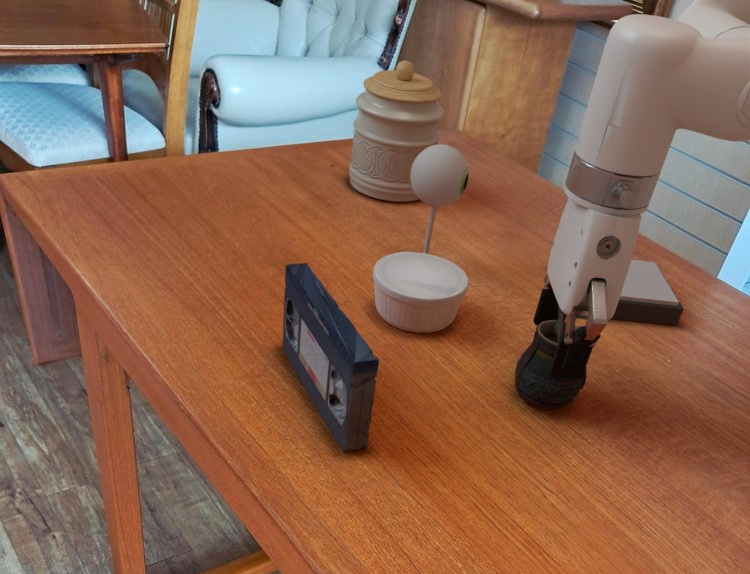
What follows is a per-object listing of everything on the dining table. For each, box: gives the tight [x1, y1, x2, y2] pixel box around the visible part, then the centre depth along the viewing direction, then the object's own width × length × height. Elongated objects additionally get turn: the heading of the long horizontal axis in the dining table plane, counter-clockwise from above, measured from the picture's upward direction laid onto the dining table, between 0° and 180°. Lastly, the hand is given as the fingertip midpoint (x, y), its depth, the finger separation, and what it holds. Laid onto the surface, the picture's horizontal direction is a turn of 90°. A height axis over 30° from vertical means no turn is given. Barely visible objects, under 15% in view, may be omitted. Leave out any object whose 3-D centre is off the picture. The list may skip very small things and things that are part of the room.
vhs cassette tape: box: [282, 262, 380, 452], centre depth 76 cm, size 18×3×10 cm, turn 22°
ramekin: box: [372, 251, 469, 334], centre depth 93 cm, size 11×11×5 cm
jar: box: [348, 60, 445, 203], centre depth 117 cm, size 13×13×18 cm
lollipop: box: [410, 143, 469, 254], centre depth 100 cm, size 7×7×15 cm
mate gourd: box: [514, 304, 588, 411], centre depth 81 cm, size 7×8×10 cm
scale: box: [575, 259, 685, 327], centre depth 103 cm, size 14×12×3 cm
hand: (555, 349), depth 80 cm, fingers open, 9 cm apart
